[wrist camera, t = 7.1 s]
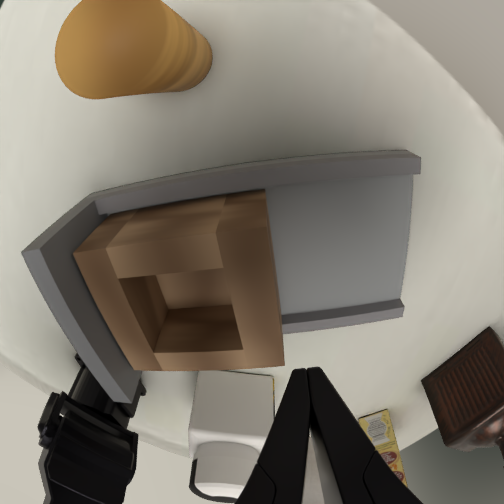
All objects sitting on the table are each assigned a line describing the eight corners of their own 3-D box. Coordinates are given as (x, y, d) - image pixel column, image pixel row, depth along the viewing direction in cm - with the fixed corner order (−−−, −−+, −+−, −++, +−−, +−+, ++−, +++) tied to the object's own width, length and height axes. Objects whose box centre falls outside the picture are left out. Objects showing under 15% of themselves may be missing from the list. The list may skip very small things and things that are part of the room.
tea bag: (291, 433, 34) (293, 502, 25) (331, 440, 36) (338, 502, 27) (276, 443, 36) (277, 507, 27) (315, 449, 37) (320, 508, 29)
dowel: (151, 98, 16) (64, 115, 8) (141, 39, 14) (50, 14, 6) (217, 83, 15) (175, 77, 7) (206, 21, 13) (158, -33, 5)
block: (152, 321, 23) (134, 370, 18) (110, 214, 18) (72, 253, 14) (281, 311, 22) (284, 365, 17) (265, 188, 17) (266, 226, 13)
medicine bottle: (261, 410, 31) (260, 508, 21) (197, 402, 31) (182, 500, 20) (274, 375, 27) (276, 493, 17) (199, 365, 27) (179, 483, 17)
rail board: (142, 325, 25) (113, 401, 18) (90, 193, 19) (21, 252, 12) (394, 300, 23) (430, 377, 16) (406, 150, 17) (482, 194, 10)
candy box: (357, 417, 32) (374, 527, 19) (389, 407, 31) (414, 515, 18) (365, 440, 36) (379, 529, 23) (392, 431, 35) (411, 520, 22)
